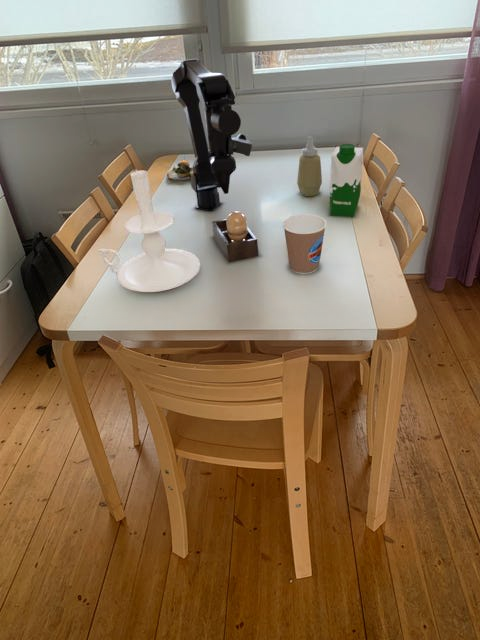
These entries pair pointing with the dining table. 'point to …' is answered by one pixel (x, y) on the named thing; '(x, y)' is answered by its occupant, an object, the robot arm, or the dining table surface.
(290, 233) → the coffee cup
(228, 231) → the egg
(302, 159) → the squeeze bottle
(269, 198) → the dining table surface
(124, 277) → the candlestick
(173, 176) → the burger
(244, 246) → the dark brown wooden tray
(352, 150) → the milk carton
